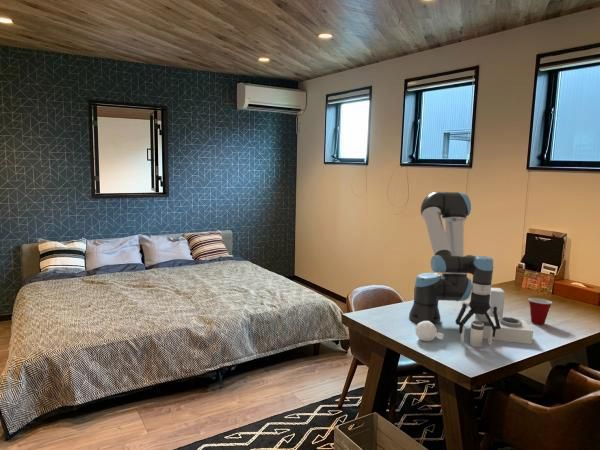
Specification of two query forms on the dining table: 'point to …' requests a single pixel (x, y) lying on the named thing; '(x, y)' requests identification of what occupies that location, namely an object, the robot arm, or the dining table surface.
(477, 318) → the camera body
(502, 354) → the dining table surface
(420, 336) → the perfume bottle
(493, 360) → the dining table surface
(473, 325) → the lens
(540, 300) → the plastic cup
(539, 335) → the dining table surface
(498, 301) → the skincare box
